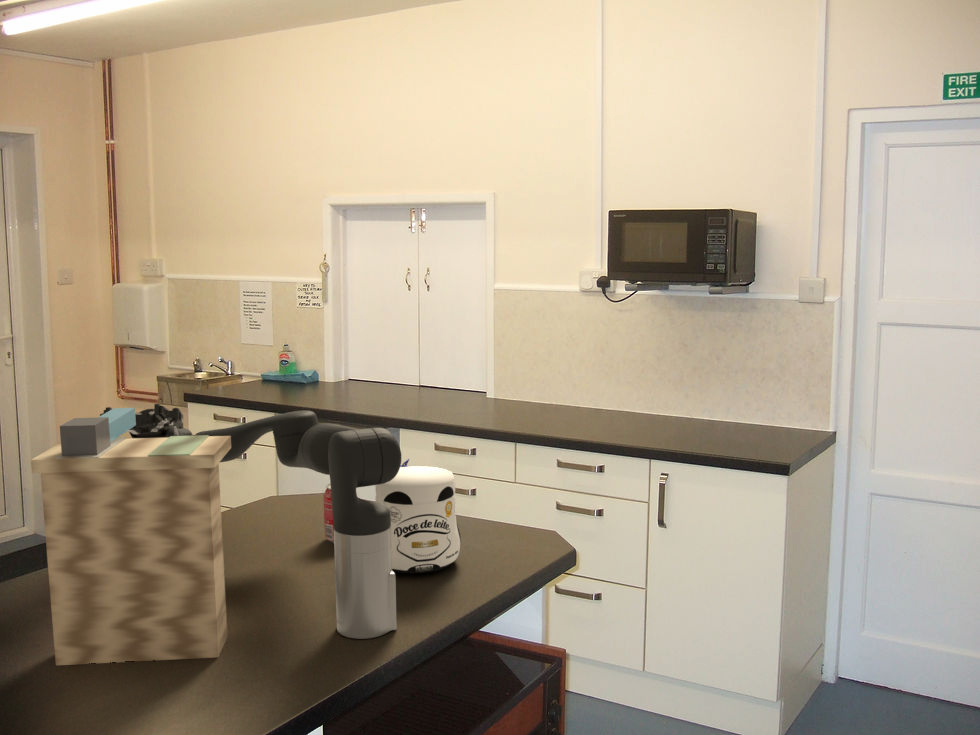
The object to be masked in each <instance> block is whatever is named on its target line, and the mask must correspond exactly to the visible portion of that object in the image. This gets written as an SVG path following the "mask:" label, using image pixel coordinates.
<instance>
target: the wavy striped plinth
mask: <svg viewBox="0 0 980 735" xmlns="http://www.w3.org/2000/svg"><path fill="white" fill-rule="evenodd" d="M230 449H231V436H209V435H196V436H194V435H193V436H170V437H167V438H132V437H131V438H126V437H118V438H116V439H115V440H114V441H112V442H111V443H110V447H108V448H107V449H105V450H104V451H102V452H101V453H100V454H98V455H85V456H62V450H61V442H59V443H58V444H56V445H54V446H52V447H50V448H49V449H47V450H46V451H44V452H42V453H40V454H39V455H37V456H35V457H34V458H32V459H30V464H31V465H30V468H31V474H40V482H41V483H40V484H41V496H42V498H41V499H42V507H43V519H44V520H43V522H44V531H45V535H44V536H45V545H46V546H45V547H46V558H47V569H48V570H47V571H48V582H49V583H48V584H49V585H48V586H49V596H50V609H51V610H50V611H51V620H52V634H53V646H54V655H55V656H54V658H55V660H54V661H55V666H69V665H71V666H72V665H92V664H91V663H96V664H111V663H112V662H116V663H126V662H125V661H135V662H149V661H153V660H155V661H169V660H174V661H175V660H189V659H210V658H211V659H213V658H219V657H220V655H221V653H222V650H223V648H224V646H225V643H226V642H227V639H228V624H227V623H228V622H227V621H228V620H227V604H226V585H225V584H226V582H225V580H226V579H225V563H224V562H225V561H224V546H223V545H224V544H223V543H224V541H223V525H222V524H223V523H222V508H221V506H222V505H221V502H222V501H221V487H220V486H221V485H220V468H219V467H220V466H219V465H220V464H219V463H221V462H220V461H221V460H222V458H223V457H224V456H225V455H226V454H227V452H228V451H229V450H230ZM110 662H111V663H110ZM153 662H154V661H153ZM89 663H90V664H89ZM112 664H113V663H112Z"/></svg>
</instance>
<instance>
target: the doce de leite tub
mask: <svg viewBox="0 0 980 735" xmlns="http://www.w3.org/2000/svg"><path fill="white" fill-rule="evenodd" d="M409 466H410V467H400V469H399V471H398V473H397V475H396V476H395V477H394V478H393V479H392V480H391V481H389V482H387V483H384V484H379V485H375V502H376V503H380V504H382V505H384V506H386V507H387V508H388V509H389V511H390V515H391V555H392V570H393V572H394V573H402V574H425V573H431V572H437V571H441V570H443V569H445V568H448V566H451V565H452V564H453V563H455V562H456V560H457V559H458V557H459V554H460V550H461V542H462V541H461V533H460V529H459V526H458V525H459V524H458V522H457V517H456V516H457V515H456V501H457V500H456V498H457V497H456V480H455V476H454V474H453V472H452V471H451V470H448V469H447V468H440V467H437V466H436V467H435V466H425V465H424V466H422V465H421V466H419V465H416V466H415V465H409Z"/></svg>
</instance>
